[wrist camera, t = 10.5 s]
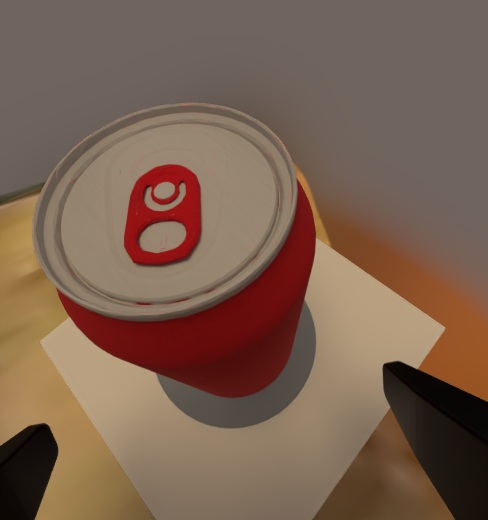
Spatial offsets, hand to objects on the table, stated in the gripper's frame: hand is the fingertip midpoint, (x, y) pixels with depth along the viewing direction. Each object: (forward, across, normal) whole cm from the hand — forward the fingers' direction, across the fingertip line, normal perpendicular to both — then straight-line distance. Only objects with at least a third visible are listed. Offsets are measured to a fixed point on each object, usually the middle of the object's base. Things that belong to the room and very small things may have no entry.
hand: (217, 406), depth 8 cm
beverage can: (+8, 0, +3) cm, 9 cm away
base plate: (+10, 0, +5) cm, 11 cm away
